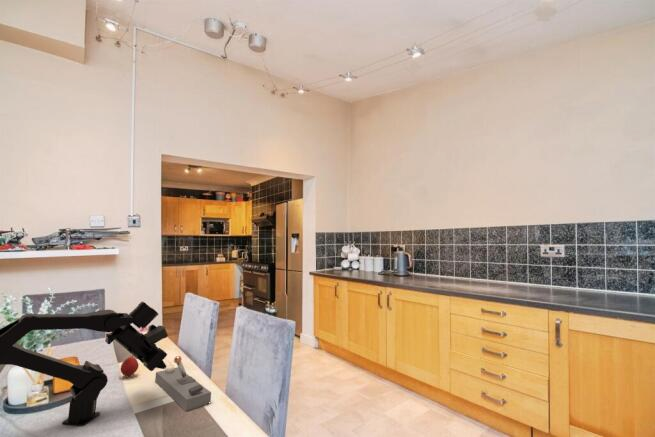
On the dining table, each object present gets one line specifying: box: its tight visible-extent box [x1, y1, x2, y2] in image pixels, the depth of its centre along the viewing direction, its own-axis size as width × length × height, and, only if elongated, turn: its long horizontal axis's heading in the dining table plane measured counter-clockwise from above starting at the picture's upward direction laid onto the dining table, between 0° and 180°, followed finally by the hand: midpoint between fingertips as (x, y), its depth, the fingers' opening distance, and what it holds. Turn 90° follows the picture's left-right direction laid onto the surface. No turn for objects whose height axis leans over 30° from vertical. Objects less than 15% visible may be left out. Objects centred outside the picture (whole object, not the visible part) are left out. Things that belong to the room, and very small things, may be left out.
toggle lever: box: [173, 355, 188, 378], centre depth 115 cm, size 2×2×8 cm
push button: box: [164, 364, 175, 373], centre depth 123 cm, size 3×3×2 cm
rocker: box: [189, 383, 204, 395], centre depth 107 cm, size 4×2×1 cm, turn 136°
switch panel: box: [154, 366, 212, 412], centre depth 115 cm, size 8×28×4 cm, turn 46°
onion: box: [120, 354, 139, 378], centre depth 125 cm, size 6×6×8 cm
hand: (165, 367), depth 111 cm, fingers closed
